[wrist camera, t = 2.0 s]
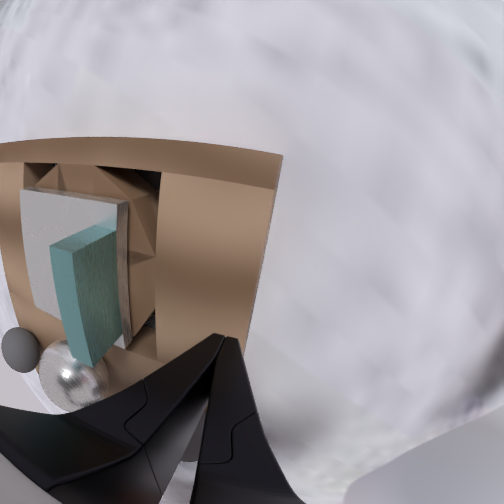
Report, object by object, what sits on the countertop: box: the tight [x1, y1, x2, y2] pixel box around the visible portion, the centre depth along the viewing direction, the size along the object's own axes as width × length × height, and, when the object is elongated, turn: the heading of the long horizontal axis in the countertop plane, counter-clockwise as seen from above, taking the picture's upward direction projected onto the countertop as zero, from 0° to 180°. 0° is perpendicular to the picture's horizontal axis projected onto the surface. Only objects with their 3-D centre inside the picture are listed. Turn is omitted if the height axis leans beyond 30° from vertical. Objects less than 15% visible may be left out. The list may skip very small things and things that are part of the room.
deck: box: [0, 137, 283, 413], centre depth 14 cm, size 20×18×2 cm
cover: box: [20, 186, 132, 368], centre depth 10 cm, size 7×7×3 cm
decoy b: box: [2, 327, 40, 373], centre depth 14 cm, size 4×4×4 cm
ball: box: [39, 339, 109, 412], centre depth 12 cm, size 4×4×4 cm
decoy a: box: [180, 412, 206, 462], centre depth 12 cm, size 4×4×4 cm
